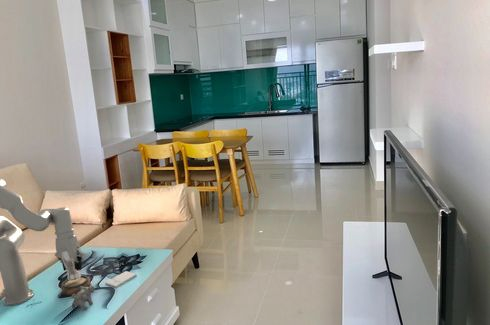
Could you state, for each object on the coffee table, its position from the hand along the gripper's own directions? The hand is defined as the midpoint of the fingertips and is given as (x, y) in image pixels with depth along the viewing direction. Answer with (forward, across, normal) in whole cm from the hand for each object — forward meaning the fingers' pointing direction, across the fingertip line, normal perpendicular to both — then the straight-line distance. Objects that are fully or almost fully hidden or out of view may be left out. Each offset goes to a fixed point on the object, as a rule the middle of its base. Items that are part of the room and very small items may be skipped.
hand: (72, 268), depth 191 cm
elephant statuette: (+10, +13, -12) cm, 21 cm away
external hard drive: (+11, +19, +9) cm, 23 cm away
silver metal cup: (+5, 0, 0) cm, 5 cm away
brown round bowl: (+10, 0, 0) cm, 10 cm away
